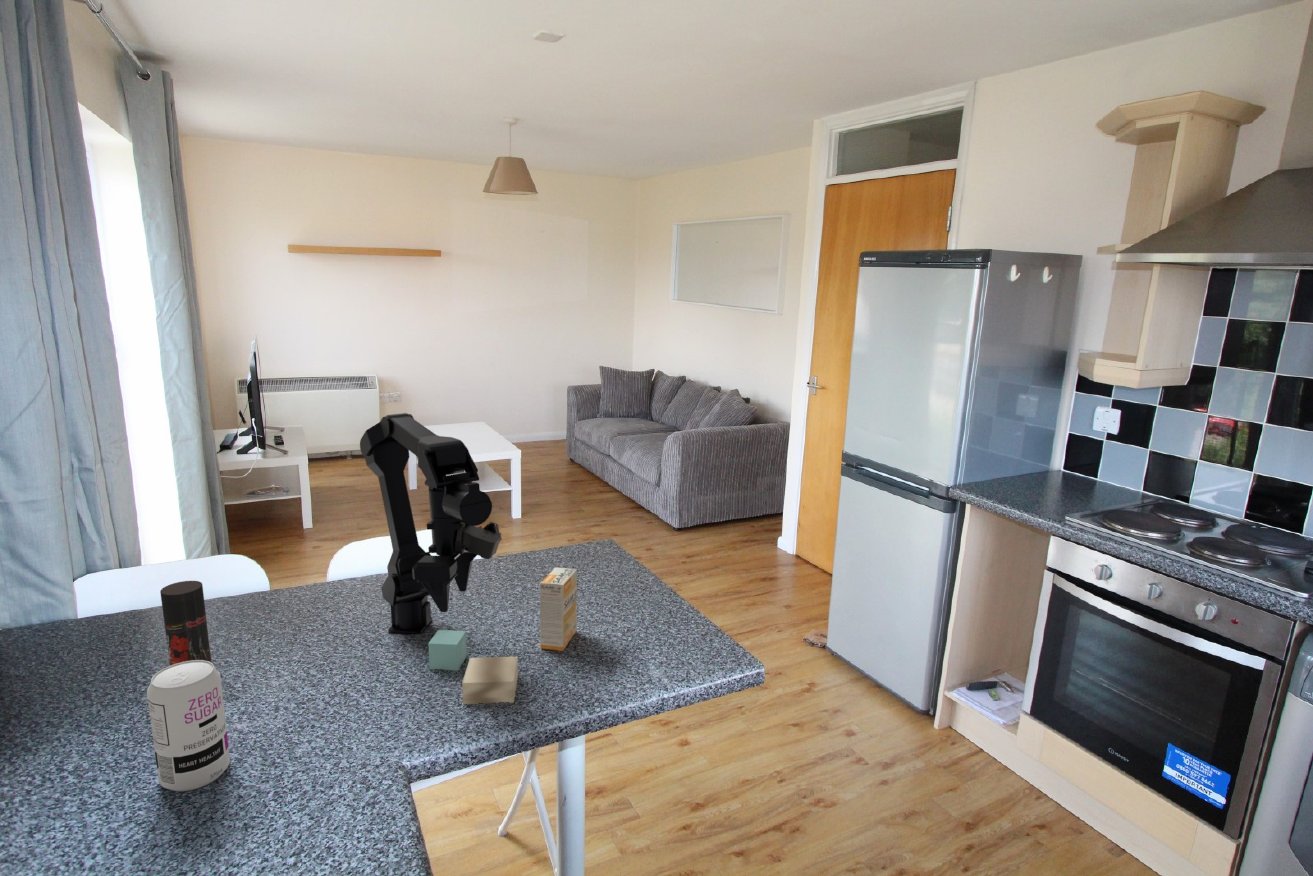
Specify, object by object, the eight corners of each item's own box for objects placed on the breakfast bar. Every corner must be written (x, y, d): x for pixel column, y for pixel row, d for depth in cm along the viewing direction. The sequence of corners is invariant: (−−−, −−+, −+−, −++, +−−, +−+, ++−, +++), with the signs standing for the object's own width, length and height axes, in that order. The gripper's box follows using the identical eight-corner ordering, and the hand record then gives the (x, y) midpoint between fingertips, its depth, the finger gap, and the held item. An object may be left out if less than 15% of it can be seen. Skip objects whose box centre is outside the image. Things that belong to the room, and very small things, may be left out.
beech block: (463, 705, 116) (462, 683, 115) (470, 679, 123) (469, 658, 123) (513, 703, 116) (513, 681, 116) (518, 677, 124) (517, 656, 123)
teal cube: (429, 669, 126) (428, 643, 125) (439, 655, 131) (438, 629, 130) (457, 671, 126) (456, 644, 125) (466, 656, 130) (465, 631, 129)
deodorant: (219, 665, 126) (210, 584, 123) (185, 681, 121) (174, 597, 117) (197, 657, 128) (187, 578, 125) (163, 673, 123) (152, 590, 120)
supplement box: (564, 652, 133) (563, 585, 130) (539, 649, 134) (538, 582, 131) (578, 631, 141) (577, 568, 138) (554, 629, 141) (553, 566, 139)
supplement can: (180, 756, 102) (167, 658, 99) (241, 754, 102) (231, 657, 99) (145, 795, 94) (130, 691, 91) (212, 793, 94) (199, 689, 91)
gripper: (476, 530, 113) (482, 624, 115) (509, 500, 131) (514, 582, 134) (407, 529, 114) (414, 623, 116) (450, 500, 132) (455, 581, 135)
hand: (454, 601), depth 125 cm, fingers open, 9 cm apart
